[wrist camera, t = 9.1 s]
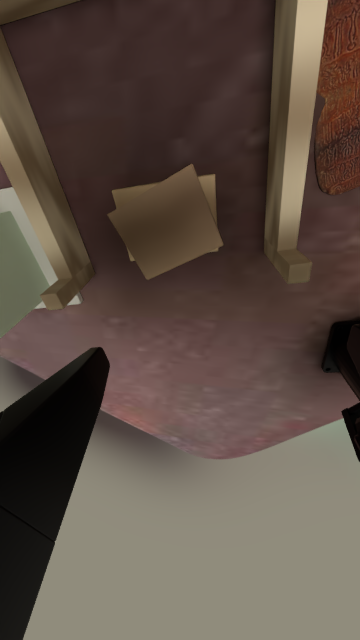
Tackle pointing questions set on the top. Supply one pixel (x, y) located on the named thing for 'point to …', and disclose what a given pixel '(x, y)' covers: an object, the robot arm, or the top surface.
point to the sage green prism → (17, 275)
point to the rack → (283, 159)
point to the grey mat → (30, 238)
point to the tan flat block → (168, 224)
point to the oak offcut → (132, 192)
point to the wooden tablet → (339, 100)
